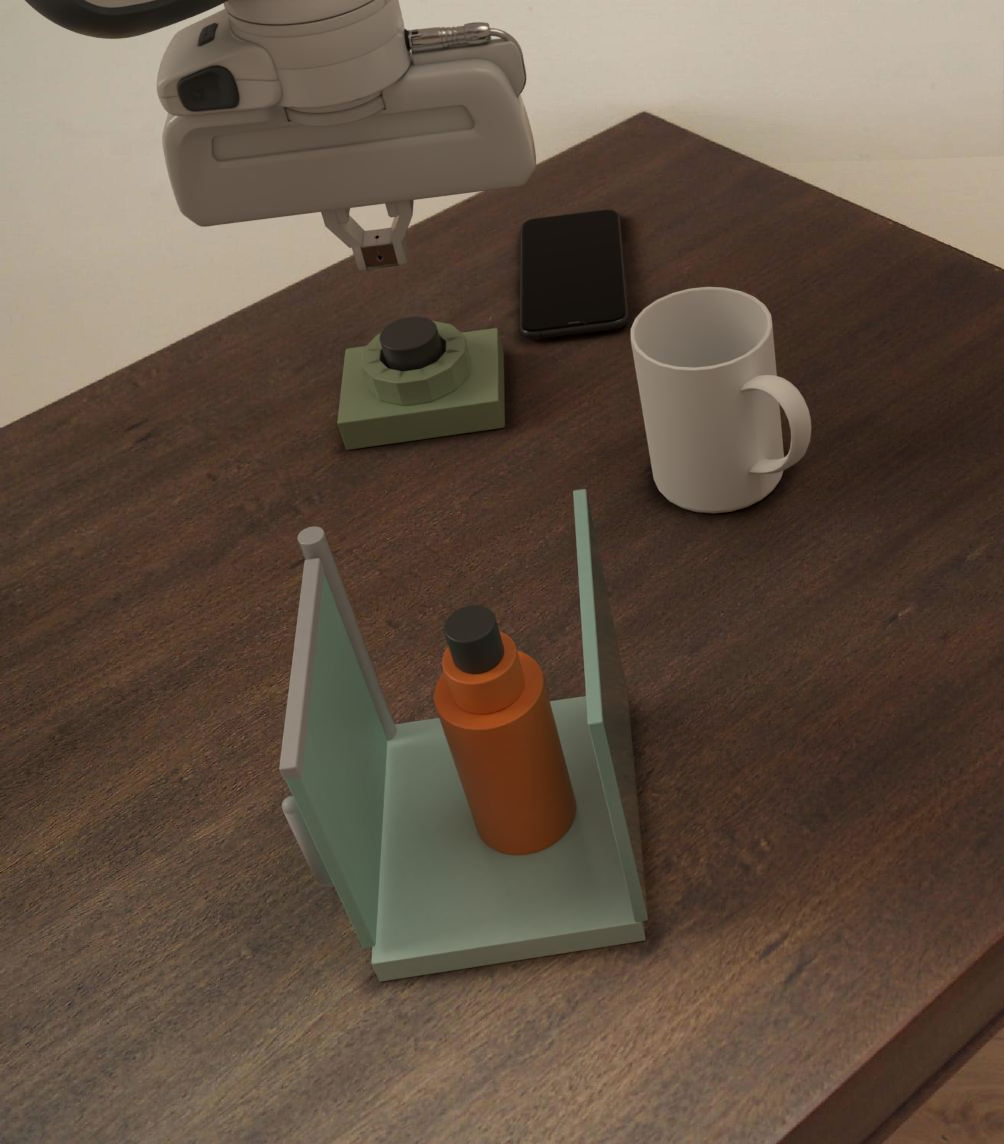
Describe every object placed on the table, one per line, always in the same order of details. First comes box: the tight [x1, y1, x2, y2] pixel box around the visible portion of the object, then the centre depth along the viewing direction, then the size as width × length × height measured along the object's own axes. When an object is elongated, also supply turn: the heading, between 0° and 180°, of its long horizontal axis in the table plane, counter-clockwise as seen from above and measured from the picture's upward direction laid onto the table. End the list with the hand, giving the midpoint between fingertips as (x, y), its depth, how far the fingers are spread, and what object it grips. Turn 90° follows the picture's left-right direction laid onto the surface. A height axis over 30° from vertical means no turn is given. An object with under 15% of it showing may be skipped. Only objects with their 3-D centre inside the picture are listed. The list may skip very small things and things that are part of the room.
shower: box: [296, 488, 649, 983], centre depth 70 cm, size 13×14×15 cm
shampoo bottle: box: [433, 604, 576, 855], centre depth 70 cm, size 5×5×13 cm
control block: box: [336, 320, 506, 451], centre depth 100 cm, size 10×8×4 cm
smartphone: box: [518, 209, 630, 340], centre depth 110 cm, size 7×1×15 cm
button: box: [379, 315, 443, 371], centre depth 98 cm, size 4×4×2 cm
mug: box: [630, 286, 812, 514], centre depth 89 cm, size 12×8×10 cm, turn 41°
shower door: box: [278, 558, 387, 949], centre depth 69 cm, size 2×12×12 cm, turn 7°
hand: (384, 262), depth 94 cm, fingers closed
